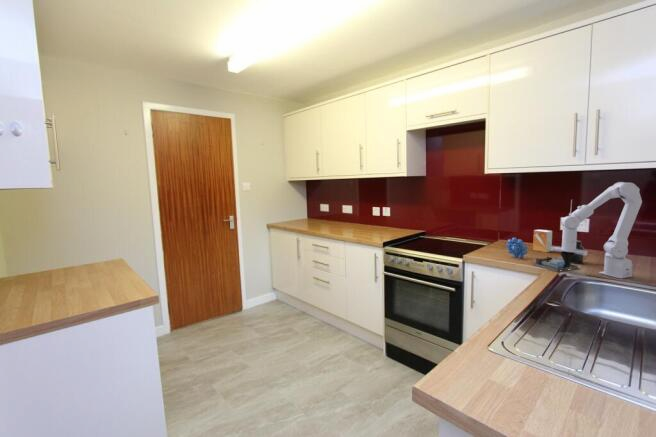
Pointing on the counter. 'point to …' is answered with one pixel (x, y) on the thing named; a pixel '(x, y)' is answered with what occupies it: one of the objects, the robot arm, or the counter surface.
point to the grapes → (516, 247)
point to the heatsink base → (549, 266)
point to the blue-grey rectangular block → (557, 262)
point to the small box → (542, 240)
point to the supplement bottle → (578, 258)
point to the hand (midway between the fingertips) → (567, 266)
